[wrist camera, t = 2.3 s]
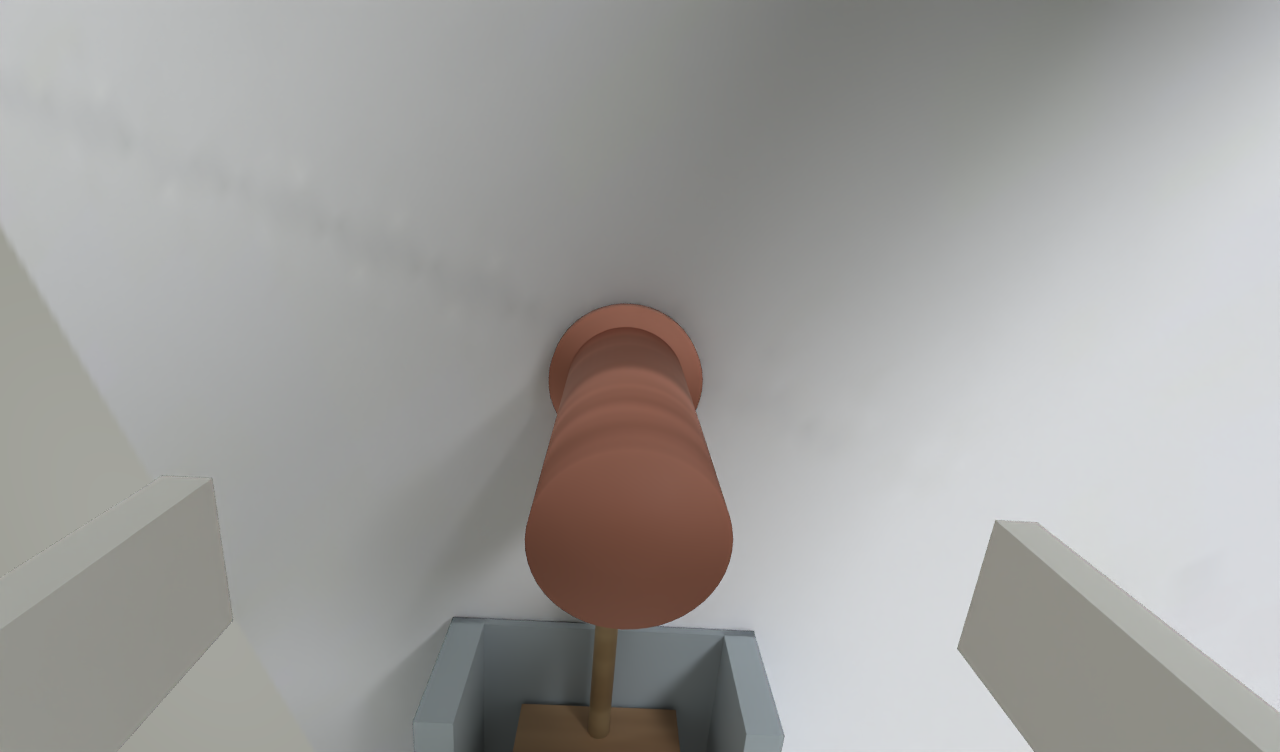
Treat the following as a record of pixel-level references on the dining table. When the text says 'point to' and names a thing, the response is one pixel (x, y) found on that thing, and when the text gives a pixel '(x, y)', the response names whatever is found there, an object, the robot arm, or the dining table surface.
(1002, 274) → the dining table surface
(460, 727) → the slate open-sided box
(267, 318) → the dining table surface
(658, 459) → the block and peg linkage
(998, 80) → the dining table surface
